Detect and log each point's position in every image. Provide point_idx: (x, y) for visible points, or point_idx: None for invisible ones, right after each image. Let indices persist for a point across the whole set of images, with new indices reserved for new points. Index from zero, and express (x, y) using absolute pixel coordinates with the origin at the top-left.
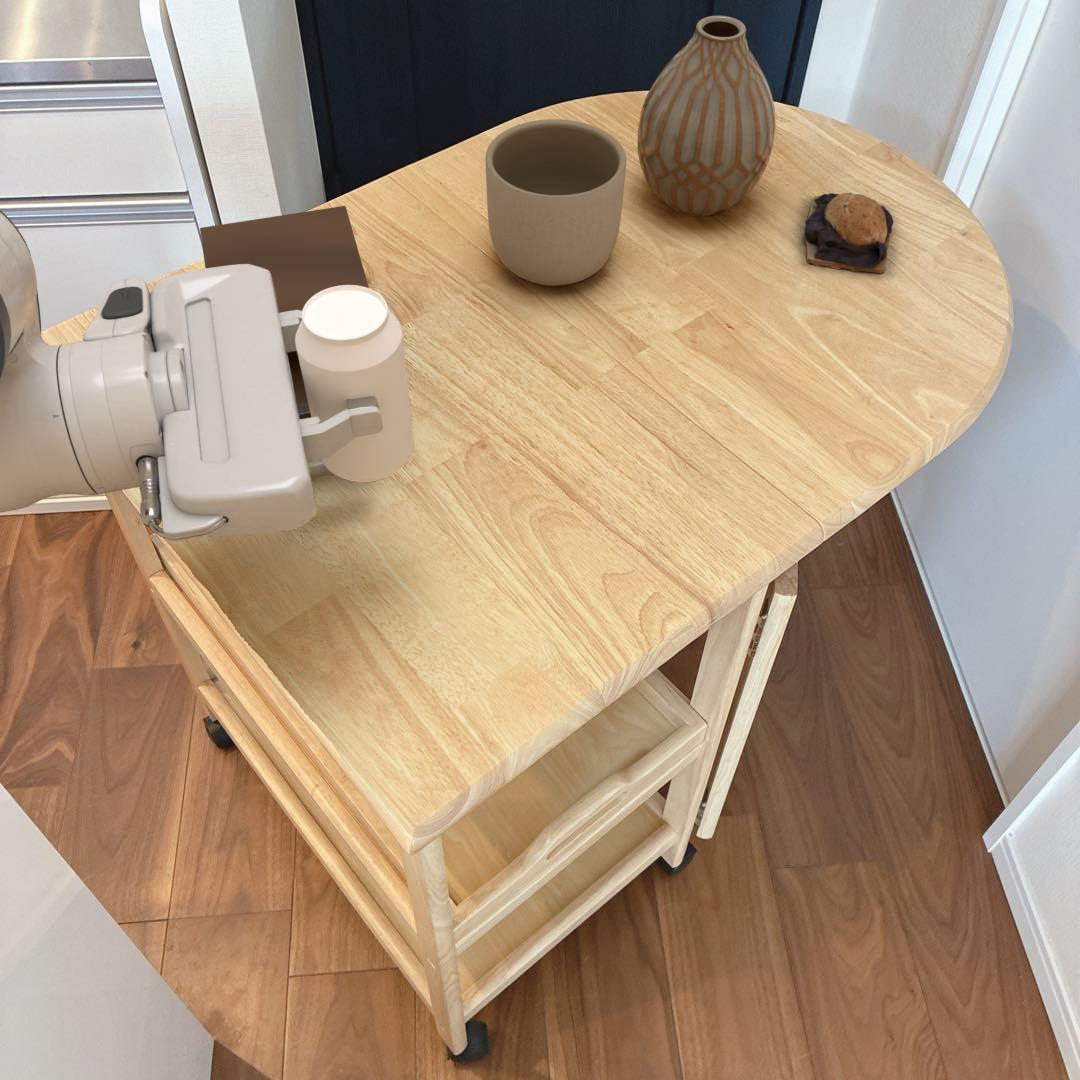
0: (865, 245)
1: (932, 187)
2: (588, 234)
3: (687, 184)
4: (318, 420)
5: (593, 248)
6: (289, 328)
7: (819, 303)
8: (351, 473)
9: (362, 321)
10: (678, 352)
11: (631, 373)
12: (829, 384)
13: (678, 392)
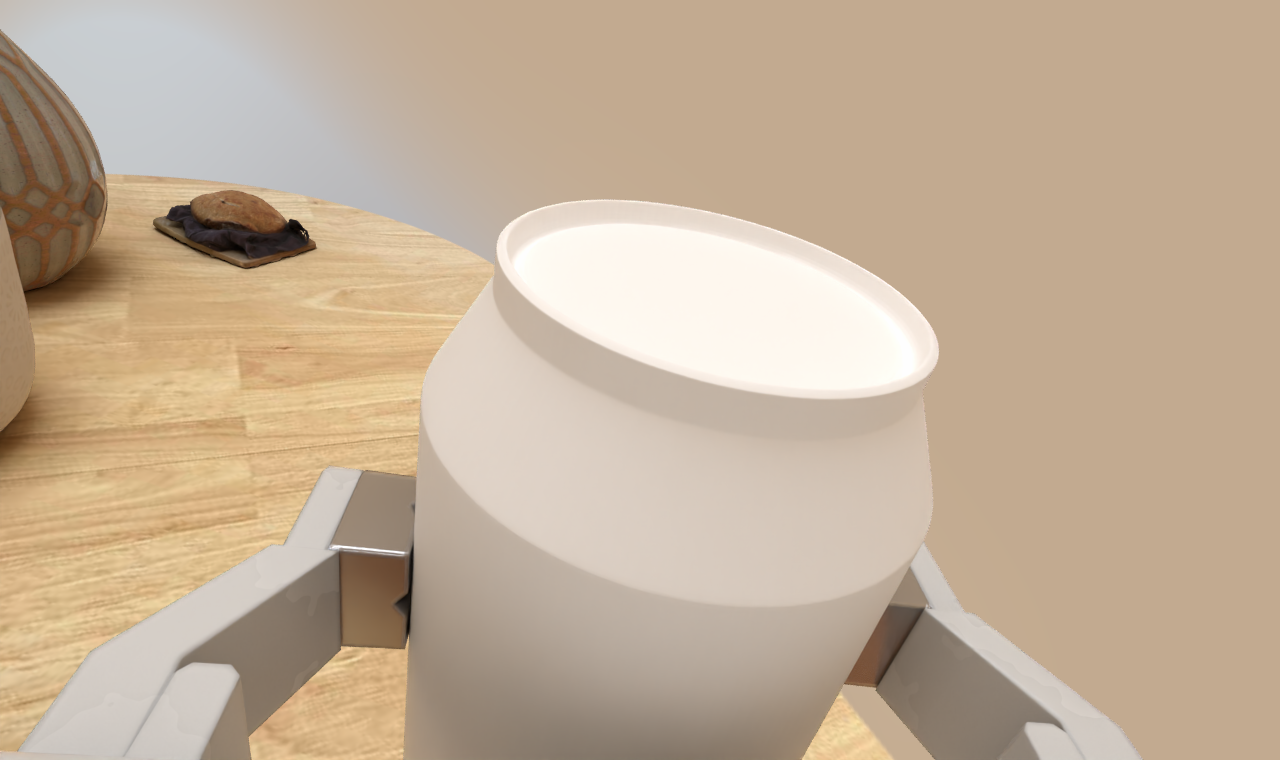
0: (280, 228)
1: (232, 184)
2: (13, 315)
3: (34, 228)
4: (1050, 726)
5: (27, 341)
6: (215, 747)
7: (316, 288)
8: None
9: (769, 275)
10: (284, 398)
11: (279, 450)
12: (440, 331)
13: (358, 425)
